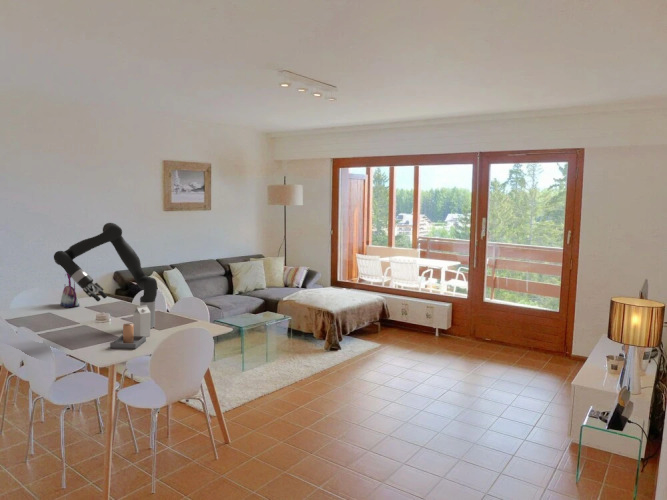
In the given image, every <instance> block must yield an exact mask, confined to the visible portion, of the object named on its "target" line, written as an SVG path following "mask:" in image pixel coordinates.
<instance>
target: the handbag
mask: <svg viewBox="0 0 667 500" xmlns="http://www.w3.org/2000/svg"><path fill="white" fill-rule="evenodd" d="M64 277H67V278H68V285H67V286H66V285H65V286H64V288H63V291H62V293H61V294H62V295H61V299H60V306H61V307H63V308H65V309H68V308H72V307H80V302H79V298H78V294H77V292H76V284H75V283H76V282H75V281H73V286H72V281H71V279H72V277H71V276H70V275H69V274H67V273H66V274H65V275H64Z"/></svg>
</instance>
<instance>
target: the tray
mask: <svg viewBox="0 0 667 500" xmlns="http://www.w3.org/2000/svg"><path fill="white" fill-rule="evenodd" d="M146 341H147V337H146V336H134V343H133V344H132V343H123V334H122V335H121V336H118V337H117V338H115V339H114V340H113V341H111V342H110V343H109V345H110V346H109V348H110V349H116V350H118V349H119V350H124V349H125V350H137V349H139V347H140V346H141V345H143V344H144V343H146Z"/></svg>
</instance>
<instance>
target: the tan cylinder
mask: <svg viewBox="0 0 667 500" xmlns="http://www.w3.org/2000/svg"><path fill="white" fill-rule="evenodd" d="M122 335H123V343H132V344H133V343H134V324H133V323H131V322H130V323H129V322H127V323H124V324H122Z"/></svg>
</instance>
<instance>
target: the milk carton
mask: <svg viewBox="0 0 667 500" xmlns="http://www.w3.org/2000/svg"><path fill="white" fill-rule="evenodd" d="M132 313H133V314H132V315H133V318H132V322H133V323H132V324H134V336H146V338H147V337H151V328H150V322H151V312H150V310H149V309H148V307H147V305H143V306H140V305H138V306H136V309H135V310H133V312H132Z"/></svg>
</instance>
